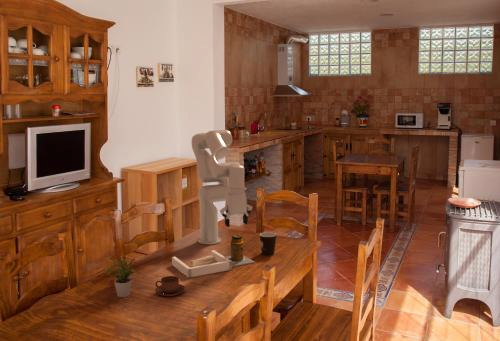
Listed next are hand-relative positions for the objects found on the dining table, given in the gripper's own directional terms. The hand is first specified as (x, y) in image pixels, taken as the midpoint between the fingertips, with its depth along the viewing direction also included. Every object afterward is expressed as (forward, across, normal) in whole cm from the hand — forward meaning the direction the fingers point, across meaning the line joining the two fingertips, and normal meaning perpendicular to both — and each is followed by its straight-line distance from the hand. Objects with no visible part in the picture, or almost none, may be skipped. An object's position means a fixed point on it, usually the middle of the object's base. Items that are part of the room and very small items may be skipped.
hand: (236, 224), depth 263 cm
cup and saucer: (+18, +43, +24) cm, 53 cm away
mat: (+18, 0, +1) cm, 18 cm away
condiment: (+18, +1, +1) cm, 18 cm away
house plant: (+18, +60, +15) cm, 64 cm away
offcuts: (+18, +19, +4) cm, 27 cm away
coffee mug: (+18, -20, -3) cm, 27 cm away
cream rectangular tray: (+18, +19, +1) cm, 26 cm away
